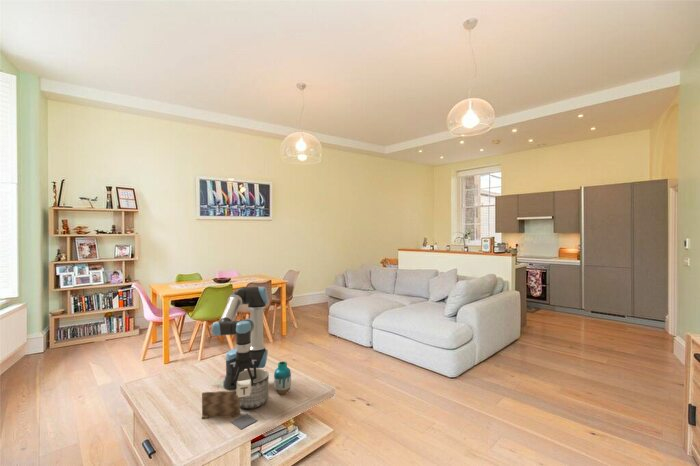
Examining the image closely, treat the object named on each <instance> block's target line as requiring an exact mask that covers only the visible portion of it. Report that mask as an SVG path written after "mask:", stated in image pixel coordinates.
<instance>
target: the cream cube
mask: <svg viewBox="0 0 700 466" xmlns="http://www.w3.org/2000/svg"><path fill="white" fill-rule="evenodd" d="M244 396H250V382H249V380H243V381H238V398H239V397H244Z"/></svg>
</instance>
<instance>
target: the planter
mask: <svg viewBox="0 0 700 466" xmlns="http://www.w3.org/2000/svg"><path fill="white" fill-rule="evenodd" d="M250 370H251V373H252V376H254V369H250ZM256 375H257V378H256V379H254V380H253V386H251V393H250V396H244V397H240V408H241V409H255V408H259V407H261V406H263V405H265V403H267V401H268V399H269V377H270V376H269V375H270V374H269V371H268V370H265V369H263V368H256ZM249 379H250V376H249V373H248V370H247V369H244V371H242V372H240V373H239V376H238V379H237V381H243V380H249Z"/></svg>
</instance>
